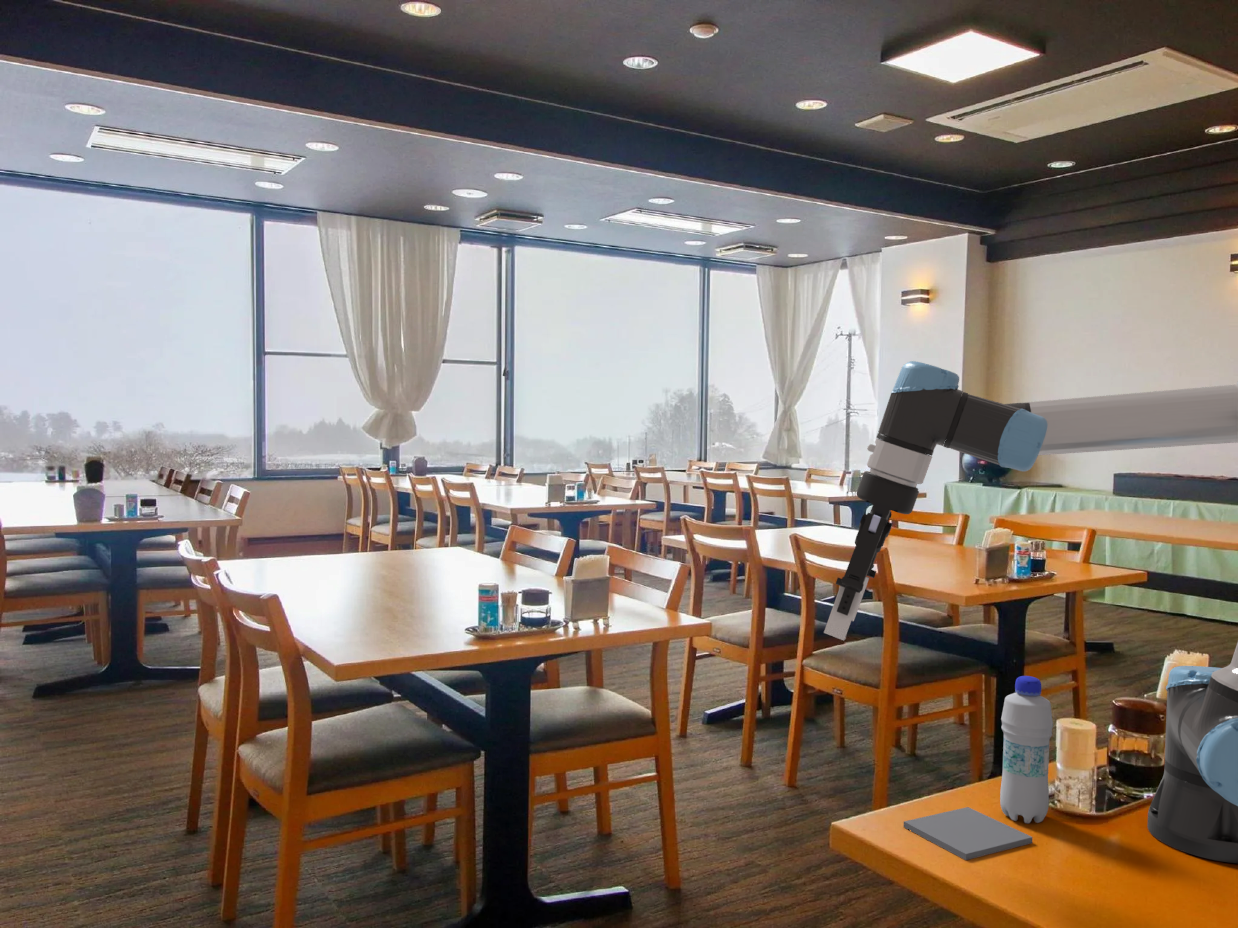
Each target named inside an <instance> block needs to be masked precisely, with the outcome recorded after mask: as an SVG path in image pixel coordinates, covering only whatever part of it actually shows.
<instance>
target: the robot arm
mask: <svg viewBox="0 0 1238 928" xmlns="http://www.w3.org/2000/svg"><path fill="white" fill-rule="evenodd" d="M897 376H898V377H897V379H896V381H895V383H894V386H893V388H892V390H891V392H890V396H889V399H888V402H887V405H886V407H885V410H884V414H883V416H882V420H881V423H880V426H879V428H878V430H877V431H878V432H877V434H876V438H875V441H874V443H875V444H873V443H872V444H871V443H870V444H869V445H868V446H867V451H868V452H870V453H872V454H870V455H869V457H868V461H867V463H866V466H867V467H868V468H869V469H870V470H869V471H867V470H866V471H865V472H863V474H862V477H861V479H860V482H859V484H858V487H857V490H856V497H857V498H859V500H862V501H864V502H866V503H869V504H872V506H871V508H870V511H869V512H868V513H863V514H862V517H861V519H860V521H859V523H858V524H859V525H858V531H857V534H856V537H855V540H854V544H855V547H854V548H853V549H854V550H853V552H852V555H851V556H850V561H849V562H848V565H847V568H846V570H845V573H844V575H843V576H842V578H840V577H837V579H836V582H835V585H838V586H839V587H838V592H837V595H836V597H835V600H834V601H833V606H832V608H831V611H830V614H829V615H828V616H829V617H828V620H827V623H826V625H825V628H824V631H823V634H826V635H829V636H832V637H834V638H836V639H839V640H841V641H845V640H846V637H847V635H848V631H849V628H850V625H851V623H852V622H854V621H855V619H856V616H857V613H858V610H859V607H860V605H861V602H862V599H863V597H864V595H865V592H866V591H865V590H866V589H867V586H868V584H869V583H868V582H869V580H870V578H873V579H875V577H876V574H877V571H876V570H874V566H875V561H876V559H877V555H878V553H880V552H881V550H882V547H883V546H884V544H885V542H886V539H887V538H888V536H889V535H890V533H891V530H892V527H893V523H892V522H890V518H891V517H892V515H893V514H892V512H895V513H898V514H903V515H910V514H912V512H913V510H914V507H915V504H916V501H917V498H918V497H919V493H920V491H919V488H918V487H917V486H918V485H921V484H924V481H925V478H926V475H927V472H928V469H929V467H930V464H931V461H932V458H933V454H934V451H935V448H936V446H937V445H938V446H942V447H944V448H945V449H951V450H953V451H957V452H960V453H963V454H966V455H969V456H971V457H974V458H976V459H980V460H983V461H985V462H986V461H987V462H989V463H992V464H995V465H999V466H1000V467H1001V468H1006V469H1007V468H1009V469H1012V470H1015V471H1019V472H1027V471H1030V470H1031V469H1032V468H1033V466H1034V464H1035V463H1036V460H1037V458H1038V456H1047V455H1049V456H1050V455H1062V454H1076V453H1077V454H1080V453H1081V454H1082V453H1094V452H1096V453H1097V452H1108V451H1109V452H1110V451H1111V452H1112V451H1122V450H1123V451H1125V450H1141V449H1155V448H1156V449H1157V448H1159V449H1160V448H1171V447H1172V448H1173V447H1189V446H1190V447H1191V446H1203V445H1205V446H1206V445H1219V444H1220V445H1221V444H1237V443H1238V381H1236V382H1235V383H1234V384H1226V385H1217V386H1216V385H1214V386H1205V387H1204V386H1201V387H1191V388H1190V387H1189V388H1177V389H1166V390H1158V391H1157V390H1156V391H1155V390H1154V391H1145V392H1144V391H1143V392H1133V393H1132V392H1131V393H1121V394H1119V393H1118V394H1109V395H1108V394H1107V395H1097V396H1096V395H1095V396H1085V397H1074V398H1071V397H1070V398H1061V399H1060V398H1059V399H1052V400H1051V399H1049V400H1039V401H1036V400H1035V401H1027V402H1016V403H1015V402H1013V403H1002V402H999V401H996V400H995V401H994V400H991V399H987V398H985V397H980V396H976V395H974V394H973V395H972V394H970V393H968V392H966V391H965V392H964V391H963V390H961V389H959V383H960V376H959V375H958V374H957V373H955V372H954V371H950V370H948V369H944V368H942V367H939V366H935V365H933V364H928V363H925V362H922V361H916V360H913V361H912V360H911V361H907V362H906V363H905V364H903V366H902V367H901V369H900V371H899V373H898V375H897ZM1167 679H1168V680H1167V685H1166V686H1165V690H1166V692H1167V693H1166V694H1167V695H1166V717H1165V718H1166V720H1165V721H1166V722H1165V745H1164V747H1165V748H1164V771H1163V776H1162V779H1161V780H1160V783H1159V785H1158V787H1157V789H1156V791H1155V794H1154V796H1153V799H1152V801H1151V803H1150V806H1149V807H1148V810H1147V811H1148V812H1147V830H1148V832H1149V833H1150V834H1151V835H1152V836H1153V837H1154V838H1155V839H1157V840H1159V841H1160V842H1162V843H1163V844H1165V845H1167V846H1169V847H1171V848H1174V849H1176V850H1178V851H1181V852H1184V853H1186V854H1190V855H1191V856H1192V855H1193V856H1196V857H1200V858H1203V859H1207V860H1212V861H1218V862H1221V863H1222V862H1223V863H1231V864H1238V641H1237V643H1236V646H1235V648H1234V652H1233V655H1232V659H1231V662H1230V664H1227V666H1224V667H1214V666H1200V665H1198V666H1197V665H1178V666H1175V667H1173V668H1172V669H1171V670H1170V671H1169V673H1168V678H1167Z"/></svg>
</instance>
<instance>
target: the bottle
mask: <svg viewBox="0 0 1238 928" xmlns="http://www.w3.org/2000/svg"><path fill="white" fill-rule="evenodd" d="M1014 690H1015V691H1014V692H1013V693H1010V694H1008V695H1006V696H1005V697H1004V702H1003V707H1002V712H1001V718H1000V720H1001V730H1002V732H1003V747H1002V749H1003V751H1002V773H1001V783H1000V784H1001V785H1000V793H999V795H1000V797H999V800H1000V801H999V802H1000V808H1001V811H1002V814H1004V815H1005V816H1007V817H1009V818H1010V819H1011V820H1012V821H1015V822H1017V821H1018V819H1019V817H1018V816H1022V817H1023V822H1024V824H1031V822H1032V819H1033V820H1034V822H1035V823H1037V824H1038V823H1041V822H1043V821H1044V820H1045V817H1046V816H1047V814H1048V810H1049V806H1050V805H1049V803H1050V798H1049V797H1050V795H1049V794H1050V792H1049V763H1050V762H1049V760H1050V740H1051V737H1052V736H1053V731H1052V730H1053V728H1054V722H1053V715H1052V704H1051V702H1050V701H1049V699H1047V698H1045V697H1043V696H1042V682H1041V680H1040V679H1039V678H1037V677H1034V676H1030V675H1021V676H1018V677H1016V679H1015V684H1014Z"/></svg>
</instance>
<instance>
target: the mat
mask: <svg viewBox="0 0 1238 928" xmlns="http://www.w3.org/2000/svg"><path fill="white" fill-rule="evenodd" d="M904 827H905V829H907V830H908V829H909V830H908V831H910V830H911V831H910V832H911V833H913V832H914V833H913V834H915V833H916V835H917V834H918V836H919V835H920V836H919V837H921V838H923V839H925V840H926V841H928V842H930V841H931V843H933V844H934V845H936V846H938V847H940V848H941V849H943V850H946V851H948V852H950V853H952V854H953V855H955V856H957V857H959V858H961V859H962V860H964V861H969V860H973V859H975V858H979V857H985V856H987V855H991V854H995V853H1000V852H1004V851H1006V850H1007V851H1008V850H1011V849H1014V848H1018V847H1022V846H1026V845H1030V844H1033V836H1031V835H1029V834H1027V833H1025V832H1022V831H1020V830H1018V829H1016V828H1014V827H1011V826H1009V825H1007V824H1005V823H1003V822H1001V821H999V820H997V819H995V818H993V817H991V816H988V815H986V814H984V813H982V812H980V811H977V810H976V809H973V808H971V807H968V806H965V807H962V808H957V809H953V810H948V811H944V812H939V813H935V814H930V815H927V816H922V817H918V818H914V819H909V820H905V821H903V828H904Z"/></svg>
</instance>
